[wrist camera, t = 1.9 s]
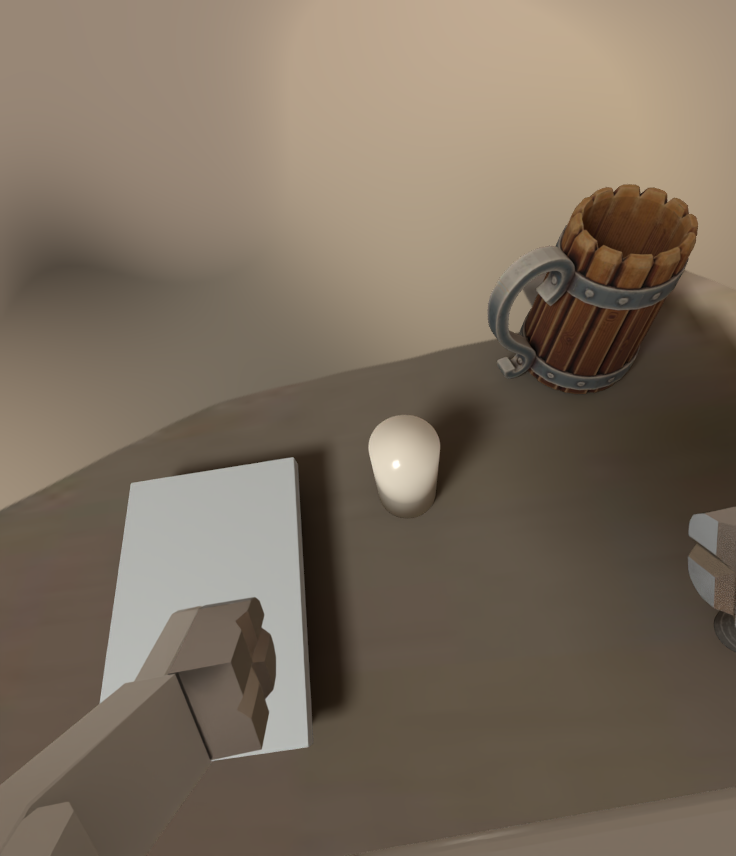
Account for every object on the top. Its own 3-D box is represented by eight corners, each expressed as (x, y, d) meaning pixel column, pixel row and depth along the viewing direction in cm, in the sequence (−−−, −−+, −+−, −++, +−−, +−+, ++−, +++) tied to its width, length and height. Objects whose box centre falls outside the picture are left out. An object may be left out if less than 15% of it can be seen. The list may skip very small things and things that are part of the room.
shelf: (320, 737, 31) (308, 747, 27) (125, 765, 31) (89, 778, 28) (304, 475, 41) (293, 457, 37) (155, 499, 41) (131, 483, 37)
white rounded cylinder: (441, 513, 38) (446, 472, 30) (383, 522, 38) (373, 484, 30) (429, 460, 40) (432, 409, 32) (375, 469, 40) (364, 420, 32)
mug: (586, 300, 47) (651, 157, 34) (652, 374, 42) (758, 241, 29) (452, 350, 46) (465, 222, 33) (503, 433, 41) (544, 321, 28)
